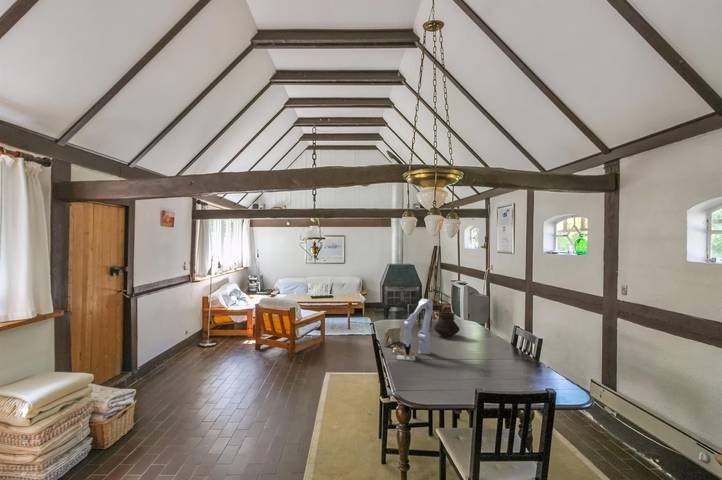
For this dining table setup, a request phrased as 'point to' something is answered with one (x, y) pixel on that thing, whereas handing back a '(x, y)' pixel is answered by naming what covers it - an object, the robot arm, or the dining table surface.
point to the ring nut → (396, 349)
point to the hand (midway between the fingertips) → (407, 353)
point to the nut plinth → (394, 352)
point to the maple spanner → (402, 352)
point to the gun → (391, 335)
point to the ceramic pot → (446, 325)
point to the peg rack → (405, 357)
